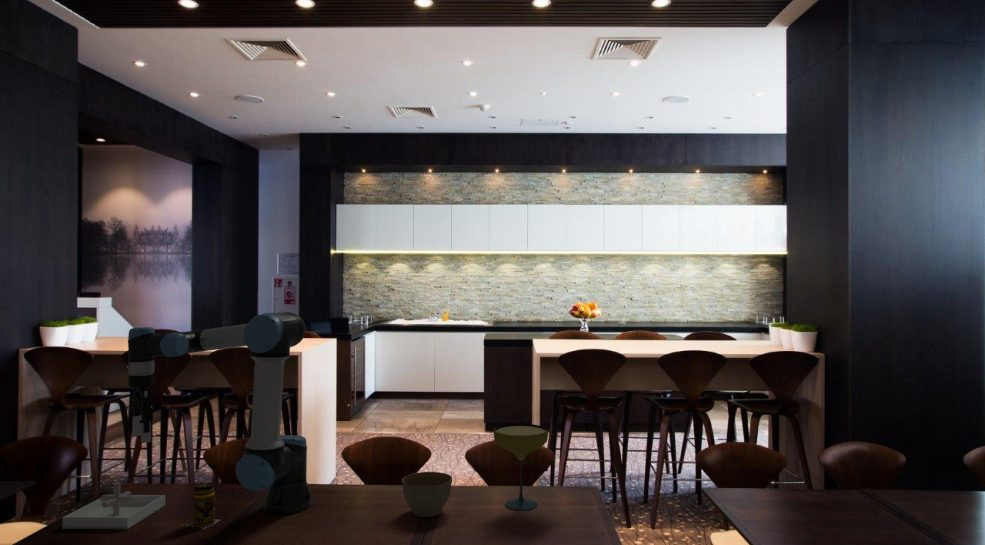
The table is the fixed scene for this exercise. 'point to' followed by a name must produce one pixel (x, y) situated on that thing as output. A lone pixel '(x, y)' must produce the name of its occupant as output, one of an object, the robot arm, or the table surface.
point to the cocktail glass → (520, 452)
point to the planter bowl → (426, 492)
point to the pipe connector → (116, 499)
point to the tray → (103, 517)
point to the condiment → (204, 505)
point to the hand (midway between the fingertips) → (141, 438)
